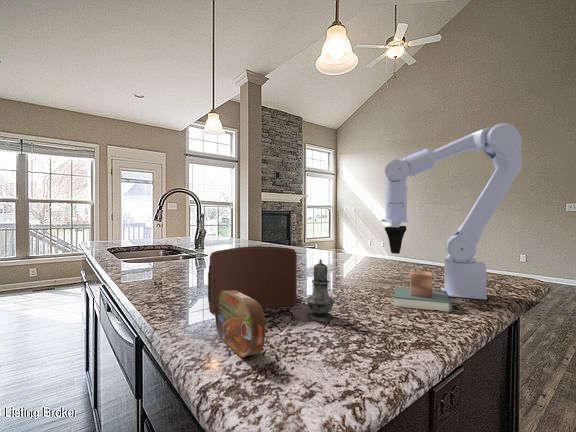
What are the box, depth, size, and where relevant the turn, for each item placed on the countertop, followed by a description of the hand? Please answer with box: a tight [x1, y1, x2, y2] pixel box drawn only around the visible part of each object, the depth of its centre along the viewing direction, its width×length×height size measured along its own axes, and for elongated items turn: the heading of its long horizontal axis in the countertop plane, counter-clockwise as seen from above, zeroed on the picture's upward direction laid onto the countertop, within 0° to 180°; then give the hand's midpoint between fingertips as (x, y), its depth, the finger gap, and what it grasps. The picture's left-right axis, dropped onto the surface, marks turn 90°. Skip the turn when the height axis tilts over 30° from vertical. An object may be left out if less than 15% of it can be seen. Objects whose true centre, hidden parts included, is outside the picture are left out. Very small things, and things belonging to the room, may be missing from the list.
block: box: [409, 270, 433, 297], centre depth 74 cm, size 4×4×5 cm
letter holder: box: [207, 245, 298, 314], centre depth 74 cm, size 10×20×14 cm, turn 107°
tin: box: [214, 290, 267, 358], centre depth 51 cm, size 15×3×8 cm, turn 32°
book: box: [393, 286, 453, 313], centre depth 74 cm, size 12×10×2 cm
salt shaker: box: [305, 259, 335, 323], centre depth 64 cm, size 6×6×12 cm
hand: (395, 251), depth 88 cm, fingers open, 7 cm apart
